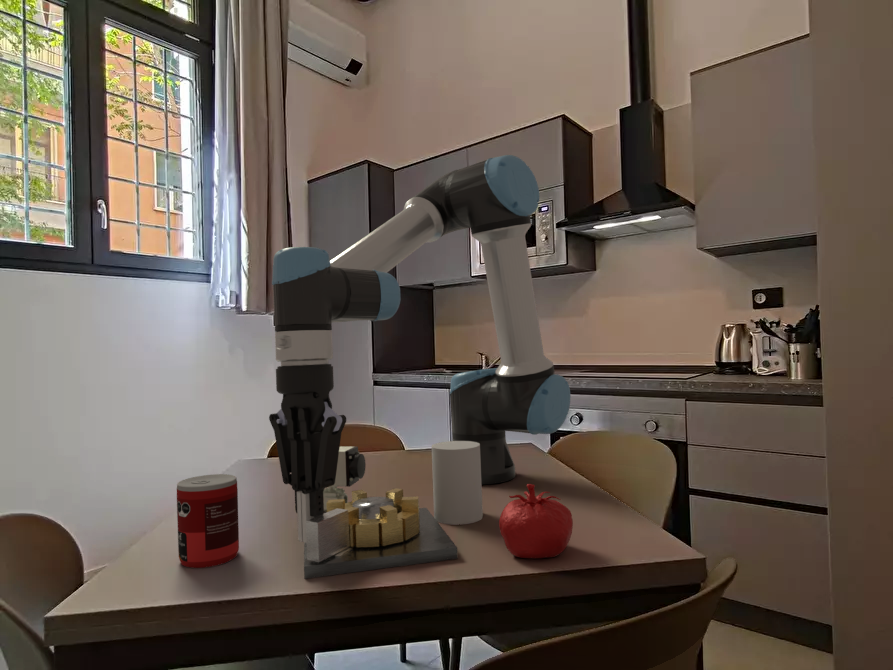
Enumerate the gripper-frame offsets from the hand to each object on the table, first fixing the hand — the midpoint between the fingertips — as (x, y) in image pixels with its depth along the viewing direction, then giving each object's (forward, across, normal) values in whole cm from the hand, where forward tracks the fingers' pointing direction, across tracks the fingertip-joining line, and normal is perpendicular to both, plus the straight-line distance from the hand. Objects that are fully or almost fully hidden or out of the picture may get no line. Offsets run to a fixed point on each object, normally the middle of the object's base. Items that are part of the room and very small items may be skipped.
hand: (310, 538), depth 76 cm
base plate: (+3, +2, +10) cm, 11 cm away
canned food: (+4, -15, -6) cm, 16 cm away
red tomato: (+4, +24, +19) cm, 31 cm away
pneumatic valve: (+4, -17, +20) cm, 27 cm away
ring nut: (+2, +2, +7) cm, 8 cm away
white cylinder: (+4, +6, +27) cm, 28 cm away
